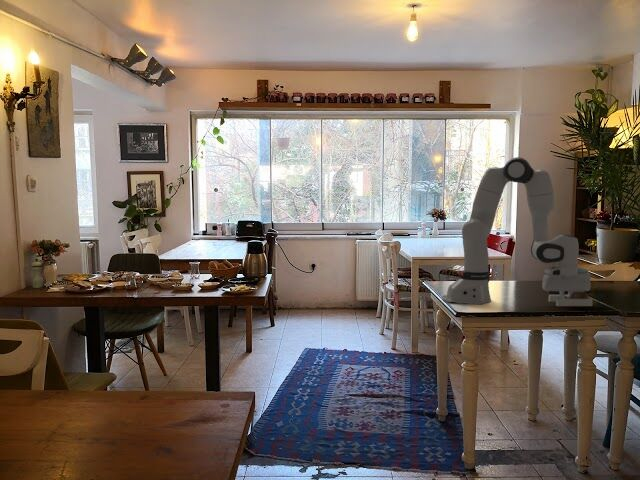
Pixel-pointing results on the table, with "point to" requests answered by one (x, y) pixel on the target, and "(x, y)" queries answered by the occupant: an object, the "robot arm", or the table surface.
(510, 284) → the table surface
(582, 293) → the walnut block
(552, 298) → the chute
